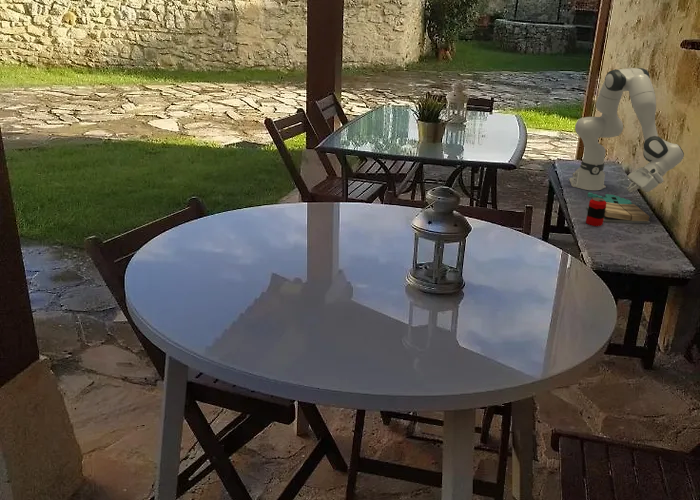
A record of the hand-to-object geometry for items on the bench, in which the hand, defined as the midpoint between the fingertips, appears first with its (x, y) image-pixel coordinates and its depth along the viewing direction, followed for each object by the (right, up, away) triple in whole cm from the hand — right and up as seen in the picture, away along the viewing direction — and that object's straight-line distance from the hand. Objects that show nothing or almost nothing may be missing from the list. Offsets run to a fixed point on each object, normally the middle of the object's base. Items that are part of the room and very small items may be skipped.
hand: (628, 190), depth 327 cm
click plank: (-6, -10, +4) cm, 13 cm away
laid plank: (+4, -12, +5) cm, 14 cm away
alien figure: (+1, -5, +25) cm, 25 cm away
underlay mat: (-3, -12, +5) cm, 13 cm away
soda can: (-19, -16, -7) cm, 26 cm away
